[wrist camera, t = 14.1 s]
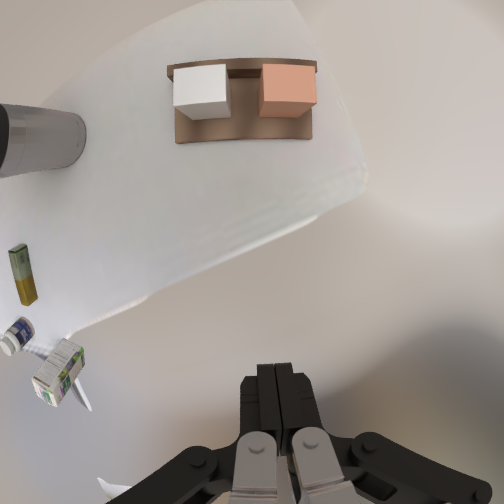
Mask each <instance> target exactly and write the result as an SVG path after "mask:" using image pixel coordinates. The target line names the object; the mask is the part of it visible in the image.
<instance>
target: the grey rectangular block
mask: <svg viewBox="0 0 504 504" xmlns="http://www.w3.org/2000/svg"><path fill="white" fill-rule="evenodd" d="M173 106H174V107H175V108H177V109H178V110H179V111H181V112H182V113H184V114H185V115H186V116H188V117H189V118H190V119H192V120H201V119H214V118H231V88H230V83H229V78H228V74H227V69H226V64H218V65H206V66H196V67H188V68H180V69H174V83H173Z"/></svg>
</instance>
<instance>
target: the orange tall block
mask: <svg viewBox="0 0 504 504" xmlns="http://www.w3.org/2000/svg"><path fill="white" fill-rule="evenodd" d="M316 103H317V95H316V78H315V66H303V65H287V64H263V66H262V71H261V76H260V81H259V87H258V105H259V117H282V118H298V117H299V116H301V115H302V114H303V113H304V112H306V111H307V110H308V109H310V108H311V107H312V106H314V105H315V104H316Z"/></svg>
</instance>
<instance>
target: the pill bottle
mask: <svg viewBox="0 0 504 504" xmlns="http://www.w3.org/2000/svg"><path fill="white" fill-rule="evenodd" d="M33 335H34V329H33V327H32V325H31V323H30V322H29V321H28V320H27V319H25V318H23V317H21V318H20V319H18V320H17V321H16V322H15V323H14V324H13V325H12V326H11V327H10V328H9V329H8V330H7V331H6V332H5V333H4V338H3V339H2V340H1V341H0V345H1V348H2V349H3V351H4V352H5V353H6V354H7V355H9V356H11V355H12V354H13V353H14V351H15V352H19V351H20V350H21V349H22V348H23V346H24V345H25V344H26V343H27V342H28V341H29V340H30V339H31V338H32V336H33Z"/></svg>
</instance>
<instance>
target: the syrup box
mask: <svg viewBox="0 0 504 504" xmlns="http://www.w3.org/2000/svg"><path fill="white" fill-rule="evenodd" d="M84 365H85V362H84V351H83V348H82V347H80V346H78V345H76V344H74V343H71V342H69V341H67V340H65V339H63V340H62V341H61V342H60V343H59V344H58V346H57V347H56V348H55V349H54V350H53V352H52V353H51V354H50V355H49V357H48V358H47V359H46V360H45V362H44V363H43V364H42V365H41V367H40V368H39V369H38V371H37V372H36V373H35V374H34V376H33V377H32V379H31V380H32V382H33V385H34V388H35V391H36V393H37V396H39V397H40V398H42V399H43V400H44V401H46V402H47V403H49V404H51V405H53V406H55V407H58V406H59V404H60V403H61V401H62V400H63V398H64V396H65V395H66V393H67V391H68V390H69V388H70V387H71V385H72V384H73V382H74V381H75V379H76V377H77V376H78V374H79V373H80V371H81V370H82V368H83V367H84Z"/></svg>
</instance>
